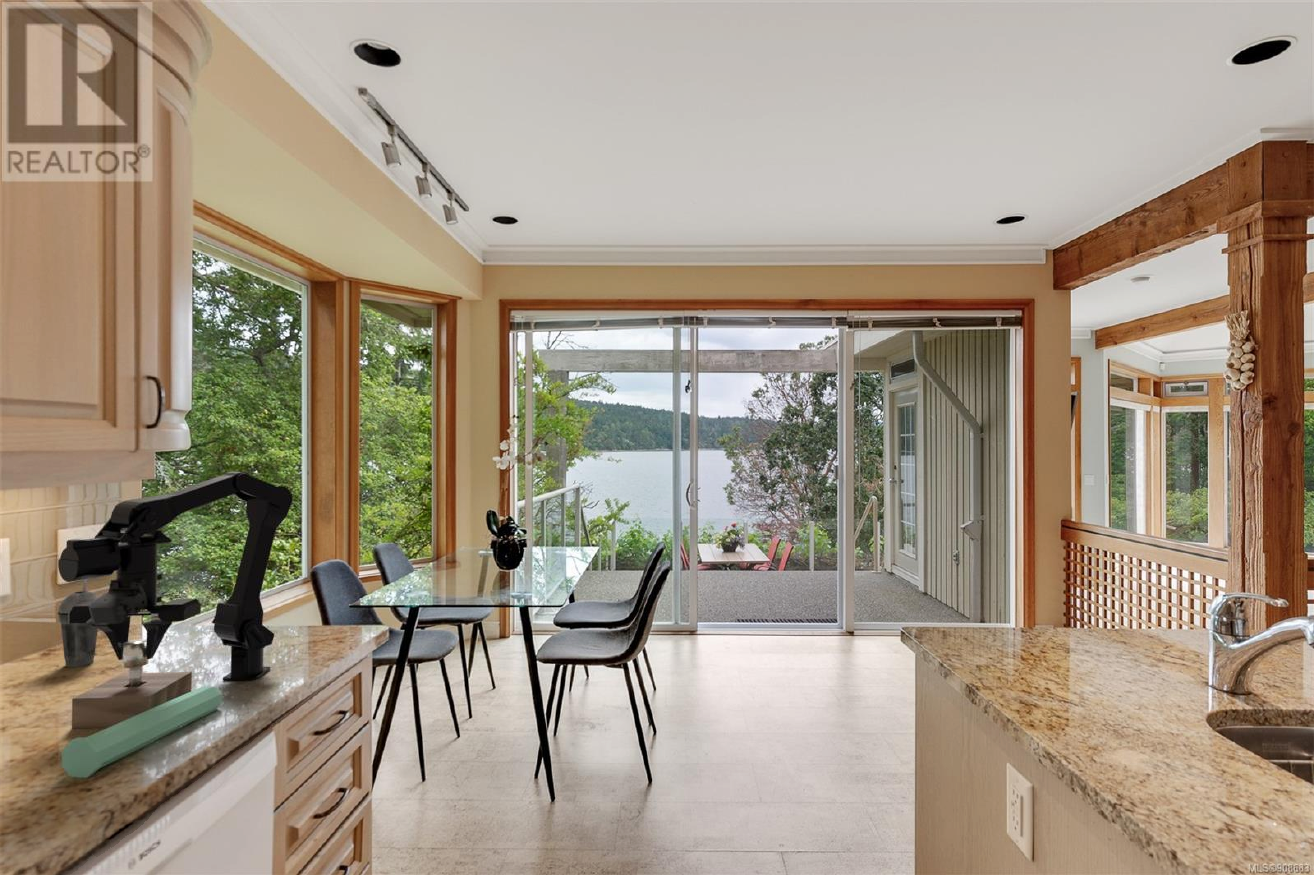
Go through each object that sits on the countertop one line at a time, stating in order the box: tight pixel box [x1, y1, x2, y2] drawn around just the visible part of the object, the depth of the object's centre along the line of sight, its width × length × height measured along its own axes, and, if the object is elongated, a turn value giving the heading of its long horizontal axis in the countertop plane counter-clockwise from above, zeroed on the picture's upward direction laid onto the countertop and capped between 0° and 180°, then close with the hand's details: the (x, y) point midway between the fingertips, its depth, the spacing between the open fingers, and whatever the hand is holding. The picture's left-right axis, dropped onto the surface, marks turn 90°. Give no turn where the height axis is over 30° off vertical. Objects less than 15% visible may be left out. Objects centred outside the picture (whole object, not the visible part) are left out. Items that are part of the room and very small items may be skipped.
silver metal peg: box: [122, 638, 150, 687], centre depth 116 cm, size 4×4×8 cm
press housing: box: [71, 671, 193, 730], centre depth 116 cm, size 12×12×5 cm
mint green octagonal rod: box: [61, 685, 223, 779], centre depth 107 cm, size 6×6×25 cm
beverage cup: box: [57, 579, 100, 668], centre depth 141 cm, size 7×7×20 cm
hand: (135, 659), depth 116 cm, fingers open, 4 cm apart
